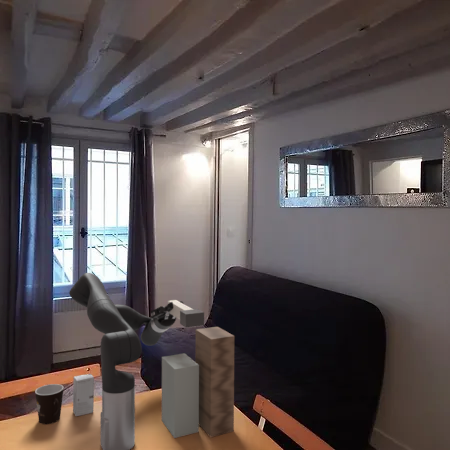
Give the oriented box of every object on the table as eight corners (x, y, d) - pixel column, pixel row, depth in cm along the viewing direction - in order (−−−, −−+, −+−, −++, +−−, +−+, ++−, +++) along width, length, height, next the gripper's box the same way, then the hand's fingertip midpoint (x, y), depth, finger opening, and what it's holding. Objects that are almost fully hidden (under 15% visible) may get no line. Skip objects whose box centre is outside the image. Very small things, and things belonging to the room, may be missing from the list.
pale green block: (174, 438, 124) (174, 369, 124) (161, 420, 135) (161, 357, 134) (198, 431, 128) (199, 365, 127) (184, 415, 138) (184, 353, 138)
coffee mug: (37, 415, 138) (37, 385, 137) (64, 411, 140) (64, 382, 140) (31, 432, 126) (31, 400, 126) (61, 428, 129) (61, 397, 129)
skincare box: (75, 417, 137) (75, 381, 136) (72, 411, 140) (72, 376, 140) (94, 412, 140) (94, 377, 140) (90, 407, 144) (90, 372, 143)
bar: (185, 327, 123) (185, 314, 123) (163, 312, 142) (163, 301, 142) (204, 325, 126) (204, 312, 125) (180, 310, 144) (180, 299, 144)
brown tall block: (210, 437, 125) (211, 339, 124) (195, 419, 135) (195, 329, 135) (233, 431, 128) (234, 335, 128) (216, 414, 139) (217, 326, 138)
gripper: (143, 311, 150) (155, 295, 137) (179, 308, 157) (194, 292, 143) (145, 332, 147) (158, 317, 134) (182, 327, 153) (198, 313, 140)
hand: (177, 304), depth 138 cm, fingers closed on bar, 3 cm apart
